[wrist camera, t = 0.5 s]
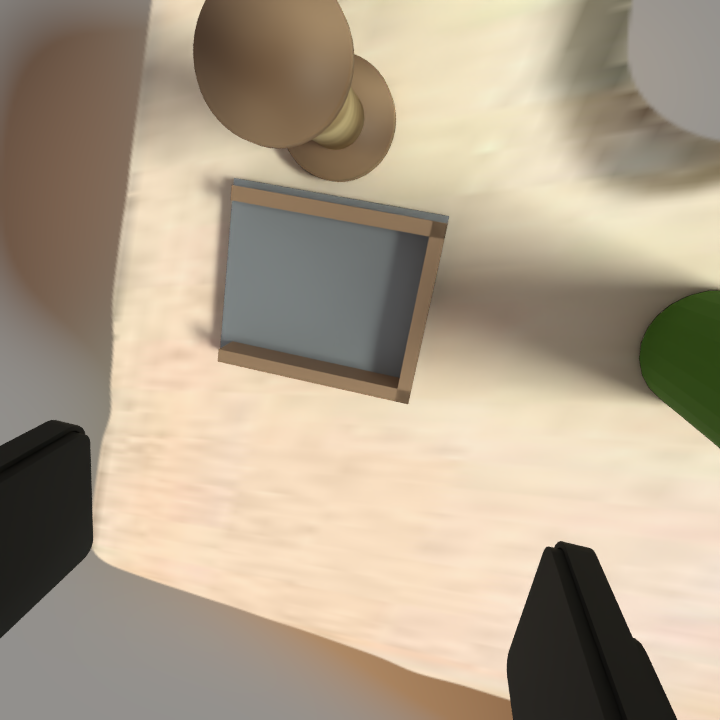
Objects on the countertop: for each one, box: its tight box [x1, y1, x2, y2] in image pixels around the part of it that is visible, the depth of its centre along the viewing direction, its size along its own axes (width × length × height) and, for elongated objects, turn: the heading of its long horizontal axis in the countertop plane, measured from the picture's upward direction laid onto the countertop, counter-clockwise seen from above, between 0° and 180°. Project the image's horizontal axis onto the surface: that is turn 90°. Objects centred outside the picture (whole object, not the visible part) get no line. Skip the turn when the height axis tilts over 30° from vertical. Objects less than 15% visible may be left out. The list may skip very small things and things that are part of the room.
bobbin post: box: [193, 0, 396, 182], centre depth 27 cm, size 8×8×14 cm
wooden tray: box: [218, 178, 449, 404], centre depth 36 cm, size 14×16×4 cm
